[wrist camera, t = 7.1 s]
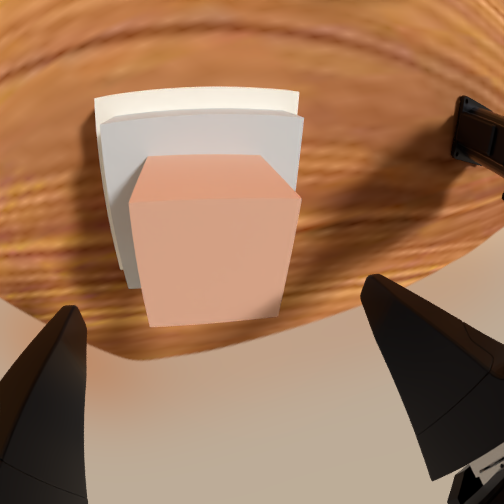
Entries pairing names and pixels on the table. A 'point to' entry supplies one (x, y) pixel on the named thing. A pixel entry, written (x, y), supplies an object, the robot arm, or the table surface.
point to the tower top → (189, 152)
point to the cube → (212, 237)
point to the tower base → (185, 100)
